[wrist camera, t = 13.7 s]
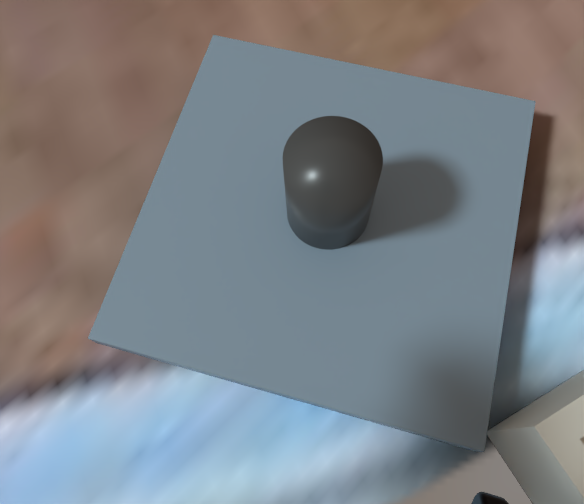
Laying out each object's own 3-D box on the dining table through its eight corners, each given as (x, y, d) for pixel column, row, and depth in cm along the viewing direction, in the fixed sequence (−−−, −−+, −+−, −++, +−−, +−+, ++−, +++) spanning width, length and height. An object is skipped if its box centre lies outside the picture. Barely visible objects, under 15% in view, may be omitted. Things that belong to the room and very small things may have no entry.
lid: (470, 451, 21) (532, 451, 16) (103, 346, 23) (35, 311, 17) (521, 123, 27) (581, 30, 21) (218, 59, 29) (196, -43, 23)
